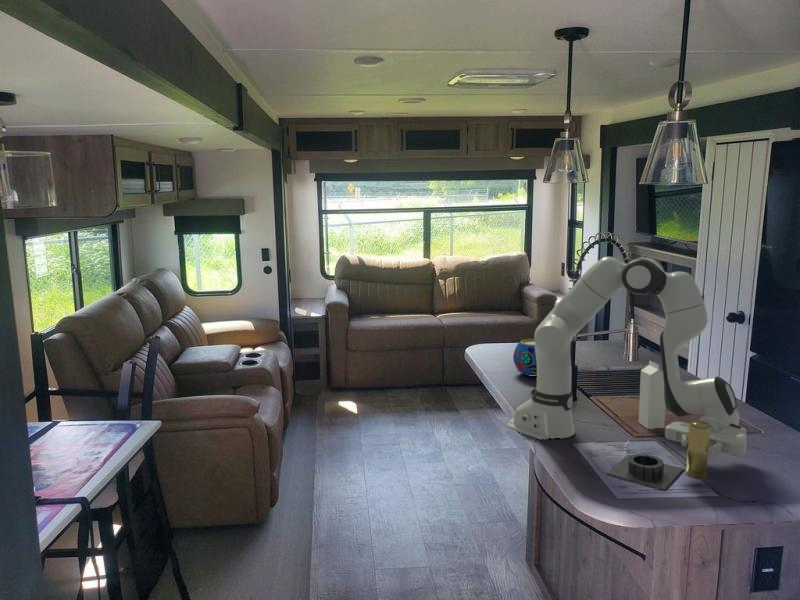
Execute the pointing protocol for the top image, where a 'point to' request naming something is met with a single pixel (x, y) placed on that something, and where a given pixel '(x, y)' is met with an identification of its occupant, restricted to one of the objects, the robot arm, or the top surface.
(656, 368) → the milk
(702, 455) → the cylinder
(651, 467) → the square socket base
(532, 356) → the ceramic pot
